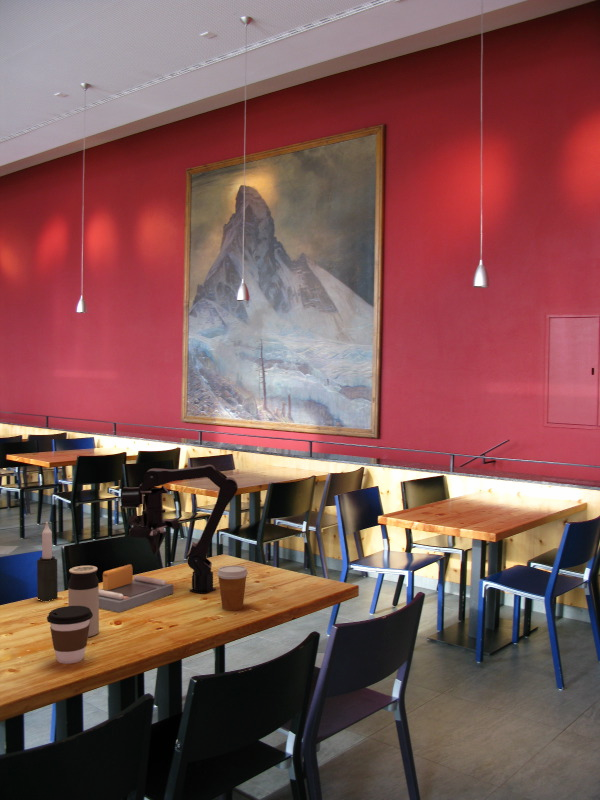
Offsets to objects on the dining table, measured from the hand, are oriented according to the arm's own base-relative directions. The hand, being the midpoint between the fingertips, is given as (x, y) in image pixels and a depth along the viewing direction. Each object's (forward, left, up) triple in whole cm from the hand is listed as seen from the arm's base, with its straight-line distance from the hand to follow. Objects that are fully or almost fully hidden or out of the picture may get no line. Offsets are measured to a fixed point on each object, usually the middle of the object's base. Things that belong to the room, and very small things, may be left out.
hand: (155, 553), depth 245 cm
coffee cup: (-24, +57, -13) cm, 63 cm away
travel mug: (-12, +42, -13) cm, 45 cm away
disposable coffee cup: (-32, +1, -13) cm, 35 cm away
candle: (+24, +25, -13) cm, 36 cm away
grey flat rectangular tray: (+2, +11, -13) cm, 17 cm away
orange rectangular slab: (+6, +11, -10) cm, 16 cm away
